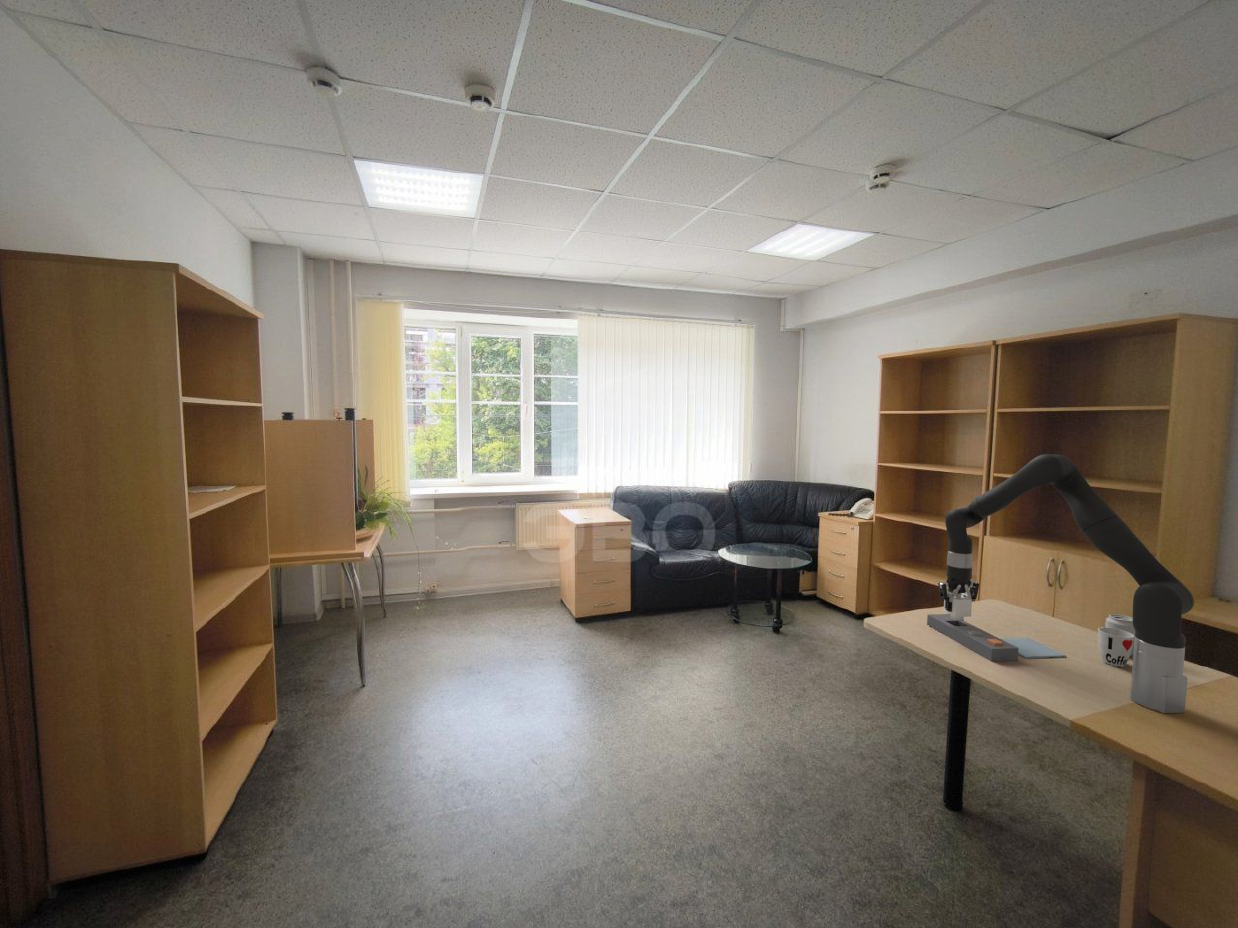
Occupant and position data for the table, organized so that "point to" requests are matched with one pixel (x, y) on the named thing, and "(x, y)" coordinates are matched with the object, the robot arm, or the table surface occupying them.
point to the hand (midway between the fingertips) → (957, 610)
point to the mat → (1032, 648)
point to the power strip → (973, 638)
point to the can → (1121, 625)
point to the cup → (1115, 645)
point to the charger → (960, 607)
